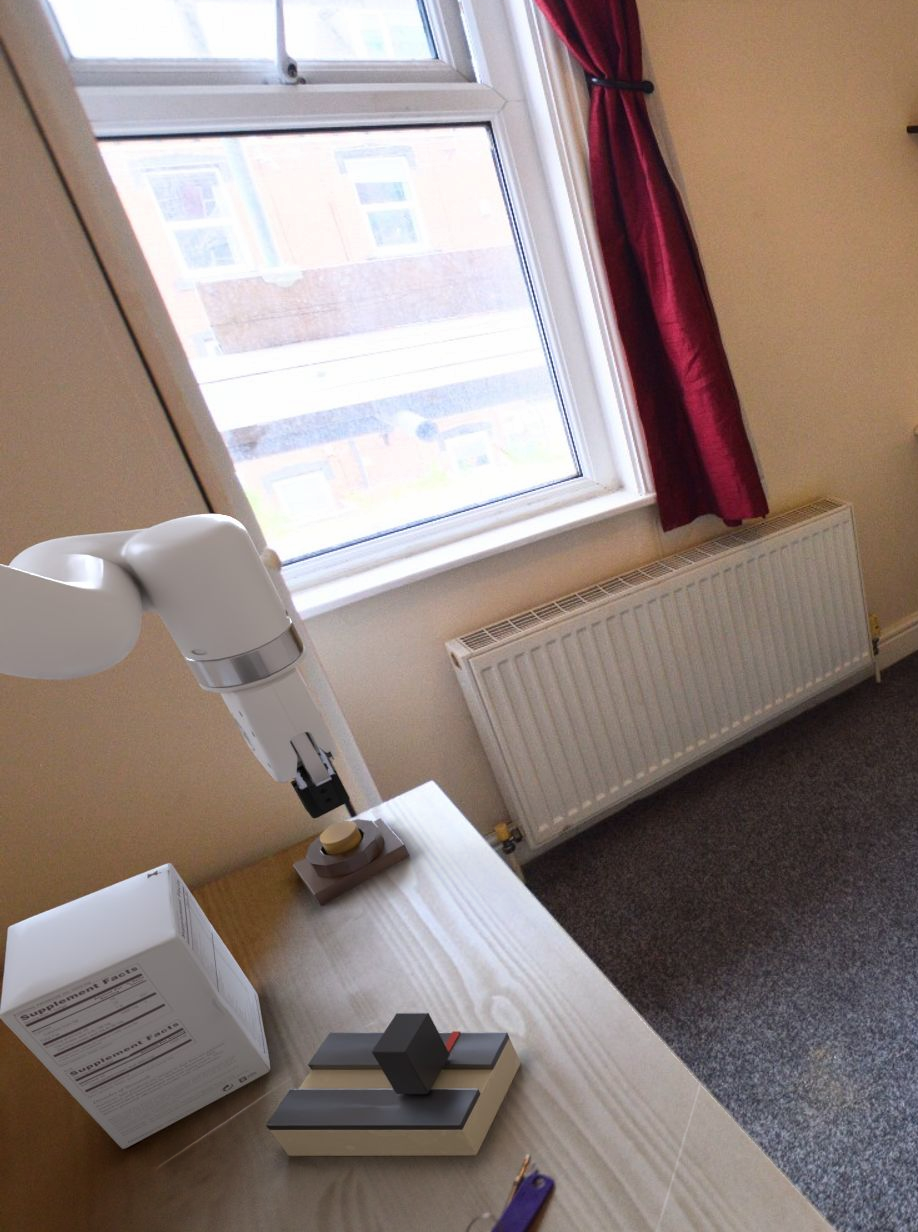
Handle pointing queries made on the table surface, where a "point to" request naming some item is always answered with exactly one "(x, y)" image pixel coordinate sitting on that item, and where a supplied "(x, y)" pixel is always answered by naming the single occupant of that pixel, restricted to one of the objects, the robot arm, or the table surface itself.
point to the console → (395, 1100)
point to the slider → (411, 1053)
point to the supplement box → (134, 1004)
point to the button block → (350, 861)
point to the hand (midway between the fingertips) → (329, 806)
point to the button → (340, 837)
